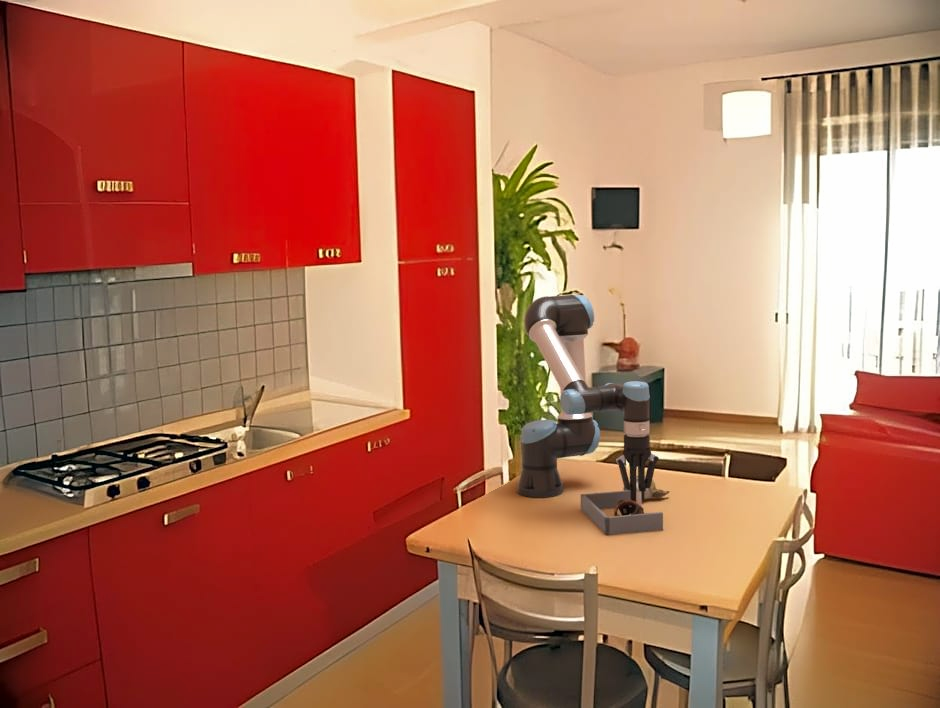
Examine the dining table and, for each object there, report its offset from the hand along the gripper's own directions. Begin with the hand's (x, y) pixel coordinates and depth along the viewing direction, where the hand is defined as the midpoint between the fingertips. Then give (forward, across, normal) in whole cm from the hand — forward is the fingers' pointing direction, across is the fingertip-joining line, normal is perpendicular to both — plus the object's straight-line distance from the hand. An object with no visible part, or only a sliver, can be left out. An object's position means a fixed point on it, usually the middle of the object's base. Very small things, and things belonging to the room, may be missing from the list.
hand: (637, 511), depth 260 cm
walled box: (+2, -5, 0) cm, 5 cm away
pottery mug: (+2, -4, -4) cm, 6 cm away
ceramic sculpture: (+2, +8, +18) cm, 19 cm away
